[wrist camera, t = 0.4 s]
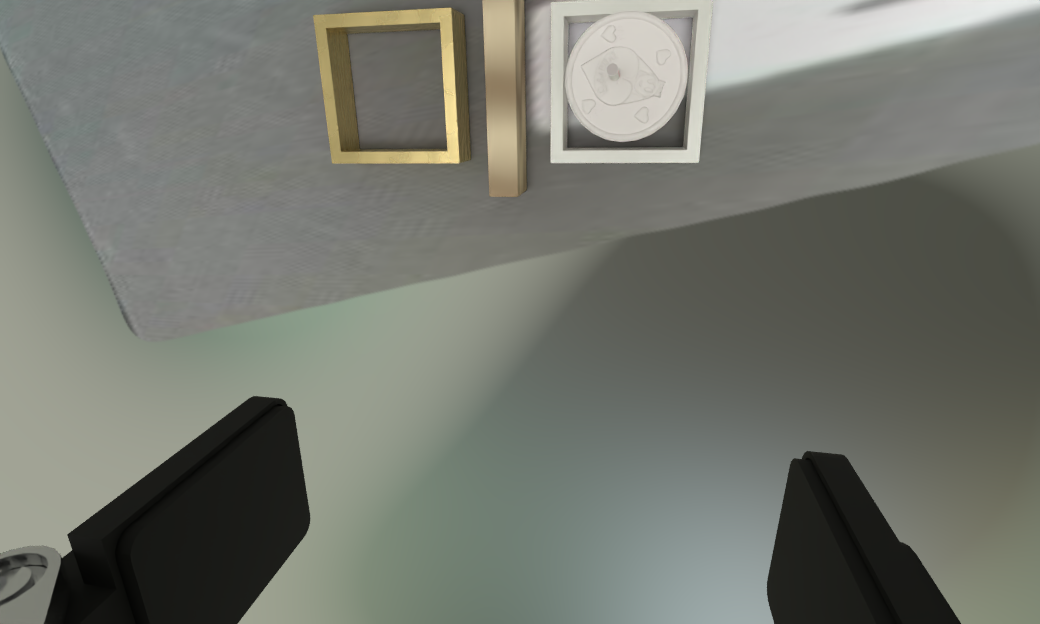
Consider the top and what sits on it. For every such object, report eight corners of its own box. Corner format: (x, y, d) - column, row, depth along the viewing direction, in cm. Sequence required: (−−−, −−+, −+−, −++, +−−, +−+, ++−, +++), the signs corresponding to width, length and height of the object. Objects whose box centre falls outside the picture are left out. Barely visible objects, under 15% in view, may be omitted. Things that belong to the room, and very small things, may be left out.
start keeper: (556, 10, 37) (550, 2, 34) (707, 2, 35) (713, -7, 32) (556, 159, 40) (550, 163, 37) (693, 159, 38) (698, 162, 36)
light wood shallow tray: (335, 21, 40) (313, 15, 37) (464, 15, 38) (451, 7, 35) (351, 159, 43) (332, 163, 40) (470, 159, 41) (459, 163, 38)
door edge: (494, -24, 37) (481, -37, 34) (523, -26, 37) (513, -39, 33) (500, 189, 42) (489, 196, 38) (526, 190, 41) (517, 196, 38)
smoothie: (596, 22, 37) (577, -27, 24) (690, 49, 36) (723, 14, 23) (568, 120, 39) (536, 125, 26) (655, 147, 39) (667, 165, 26)
